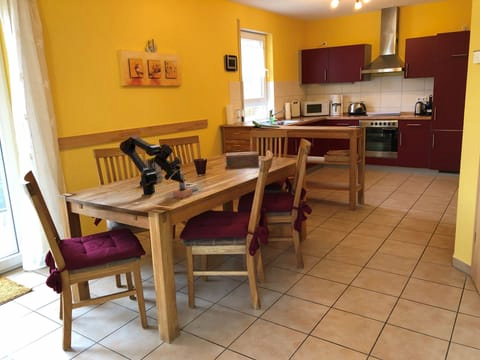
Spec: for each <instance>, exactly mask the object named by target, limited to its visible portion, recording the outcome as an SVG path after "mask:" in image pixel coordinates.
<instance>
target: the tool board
mask: <svg viewBox="0 0 480 360" xmlns="http://www.w3.org/2000/svg"><path fill="white" fill-rule="evenodd" d="M205 191H207V189H205V188H204V189H203V188H202V189H200V188H198V190H195V191H193V194H192V195H190V196H187V197H185V198H182V197H173V192H172V193H169V194H166V195H163V196H162V197H163V198H173V199H181V200H186V199H188V198H191V197H194V196H195V195H198V194H201V193H203V192H205Z"/></svg>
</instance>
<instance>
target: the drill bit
mask: <svg viewBox="0 0 480 360" xmlns="http://www.w3.org/2000/svg"><path fill="white" fill-rule="evenodd" d="M178 174H179V176H180V177H181V179H182V180H183V181H184V179H185V174H184V172H180V173H178ZM178 183H179V185H178V188H179V187H180V191H184V190H185V184H186V183H185V182H184V183H181V182H178Z"/></svg>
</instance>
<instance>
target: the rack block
mask: <svg viewBox="0 0 480 360" xmlns="http://www.w3.org/2000/svg"><path fill="white" fill-rule="evenodd" d="M172 193H173V197H182V198H185V197H187V196H190V195H192V194H193V192H192V188H185V190H184V191H180V188H179V187H178V188H176V189H173V190H172Z"/></svg>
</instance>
